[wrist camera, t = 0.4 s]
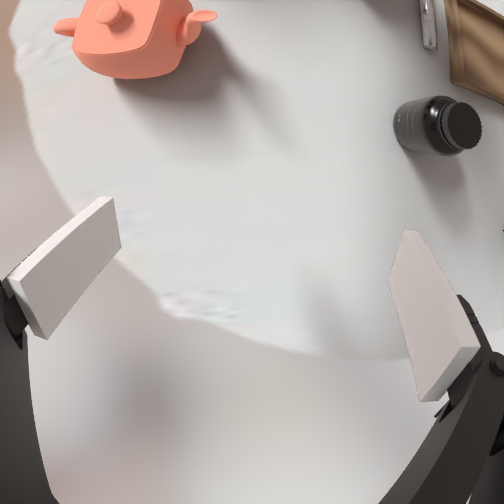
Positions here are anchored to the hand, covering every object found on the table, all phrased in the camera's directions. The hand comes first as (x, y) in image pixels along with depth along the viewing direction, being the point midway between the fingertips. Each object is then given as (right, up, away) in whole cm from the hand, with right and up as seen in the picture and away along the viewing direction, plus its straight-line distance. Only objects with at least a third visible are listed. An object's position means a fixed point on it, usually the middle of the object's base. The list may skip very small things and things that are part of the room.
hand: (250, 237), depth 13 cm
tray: (+36, +30, +14) cm, 49 cm away
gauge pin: (+24, +32, +14) cm, 43 cm away
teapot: (-12, +26, +18) cm, 34 cm away
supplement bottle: (+21, +16, +20) cm, 33 cm away
